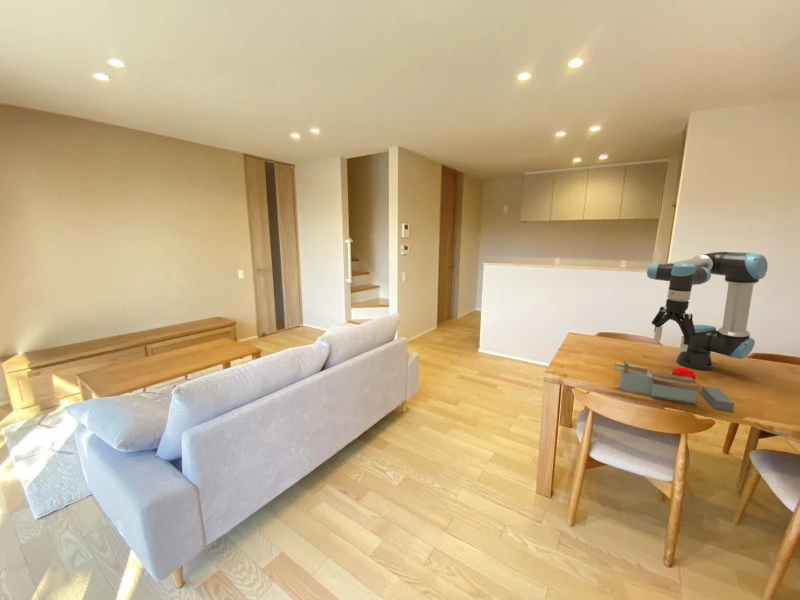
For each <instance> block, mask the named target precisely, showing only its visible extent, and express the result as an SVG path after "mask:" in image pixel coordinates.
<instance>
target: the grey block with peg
mask: <svg viewBox="0 0 800 600" xmlns="http://www.w3.org/2000/svg"><path fill="white" fill-rule="evenodd" d="M623 364H625V365H626V366H625V372H624V371H620V379H619V383H618V387H620V388H619V390H620V391H623V392H630V393H636V394H641V395H648V396H650V391H651V386H652V380H653V376H652V375H651V373H649V372H647V375H644V374H637V373H630V372H627V371H628V364H629V363H628V361H626V360H625V361H623Z"/></svg>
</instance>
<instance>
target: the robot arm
mask: <svg viewBox="0 0 800 600" xmlns="http://www.w3.org/2000/svg"><path fill="white" fill-rule="evenodd" d="M768 266H769V265H768V261H767V258H766V257H765V255H763V254H760V253H753V252H733V251H732V252H729V251H716V252H715V251H714V252H709V253H704V254H703V253H702V254H699V255H698V254H697V255H696V256H694V257H692V258H689V259H684V260H679V261H675V262H668V263H662V264H661V263H652V264H650V265H649V266H648V267H647V270H646V276H647V278H649V279H652V280H656V281H665V282H669V285H668V290H667V296H666V297H667V299H666V300H665V306H660V307H659V311H658V312H657V314H656V315H655V316H654V318H653V319H652V321H651V324H652V325H654V335H653V341H654V342H655V341H656V342H660V341H661V338H662V334H663V329H664V327H663V325H664V324H666V323H667V322H668V321H669V320H672V321H673V322H676V324H677V325H678V327H679V329H680V331H681V333H682V335H683V336H681V338H680V343H679V344H680V346H679V348H678V351H679V352H680V353H679V354H678V355H677V357H676V363H677V364H678V365H680V366H683V367H684V368H688V369H692V370H698V371H710V370H712V368H713V361H712V356H711V353H716V354H719V355H722V356H726V357H729V358H735V359H738V360H742V359H745V358H746V357H748V356H749V354H750V353H752V350H753V349H754V346H755V342H756V341H755V339H754V338H753V337H751V333H750V331H748V330H747V326H748V320H749V314H750V308H751V302H752V295H753V290H754V286H755V284H757V283H759V282H760V280H762V279H764V278H765V276H766V274H767V272H768ZM712 275H718V276H724V281H725V282H726V283H727V284H728V285H727V290H726V292H727V293H726V299H725V307H724V312H723V313H724V314H723V320H722V327H720V328H718V329H717V327H715V326H713V325H705V324H694V322H693V318H694V317H693V314H692V313H686V311H687V310H688V309H689V304H690V298H691V293H692V287H693V286H695V285H697V286H698V285H702V284H705V283H707V282H709V281H710V280H711V277H712Z"/></svg>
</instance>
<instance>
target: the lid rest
mask: <svg viewBox="0 0 800 600" xmlns="http://www.w3.org/2000/svg"><path fill="white" fill-rule="evenodd" d="M700 390H701V391H700V395H701V396H702V397H703V398H704V399H705V401H706V402H707V403H708V404H709V405H710V406H711V408H712V409H714V410H718V411H725V412H731V413H733V411H734V406H735V402H734V401H732V400H731V398H729V397H728V396H727V395H726V394H725V393H724V391H722V390H721V389H720V388H717V387H711V386H704V385H703V386H702V387H701V389H700Z"/></svg>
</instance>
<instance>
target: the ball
mask: <svg viewBox="0 0 800 600" xmlns="http://www.w3.org/2000/svg"><path fill="white" fill-rule="evenodd" d="M671 374H672V375H679V376H685V377H691V378H692V379H693V380H694V381H695V382H696V378H697V376H696V374H695V373H694V372H693V371H692V370H691V369H690V368H688V367H679V366H678V367H676V368H675V369H673V370H672V373H671Z"/></svg>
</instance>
